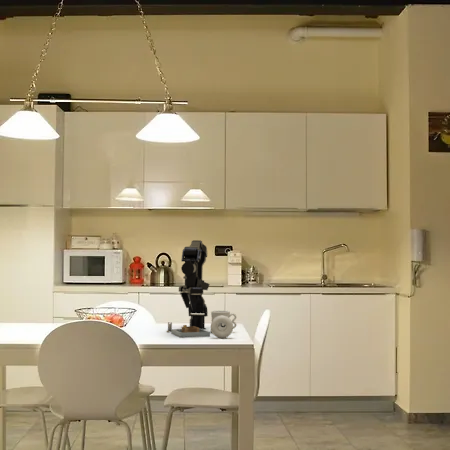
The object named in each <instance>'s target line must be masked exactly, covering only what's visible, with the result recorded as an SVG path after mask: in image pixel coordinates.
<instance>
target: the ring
mask: <svg viewBox="0 0 450 450" xmlns="http://www.w3.org/2000/svg"><path fill="white" fill-rule="evenodd" d="M181 329H182V332H181V333H186V332H199V328H198V327H195V326H190V325H189V326H188V325H187V324H183V325H182V326H181Z"/></svg>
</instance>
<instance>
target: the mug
mask: <svg viewBox="0 0 450 450" xmlns="http://www.w3.org/2000/svg"><path fill="white" fill-rule="evenodd" d="M210 313H211V314H210V315H211V322H212V321H213V319H214V318H215V317H217V316H221V315H223V316H226V317H228V318H229V319H230V318H231V316H233V318H232V319H231V321H232V323H233V330H234V329H235V328H236V327H237V323H236V319H237V315H236V314H235V313H233V312H231V311H228V310H211V311H210ZM218 328H219V330H221V331H223V330H225V328H226V326H225V324H224V323H220V324H219V325H218ZM210 333H212V331H211V330H210Z"/></svg>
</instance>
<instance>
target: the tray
mask: <svg viewBox="0 0 450 450" xmlns="http://www.w3.org/2000/svg"><path fill="white" fill-rule="evenodd" d="M181 332H182V328H172V329H171V332H170V334H172V335H173V336H176V337H178V338H199V337H200V338H203V337H204V338H205V337H211V331H208V330H206V329H199V332H186V333H181Z"/></svg>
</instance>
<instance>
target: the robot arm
mask: <svg viewBox="0 0 450 450" xmlns="http://www.w3.org/2000/svg"><path fill="white" fill-rule="evenodd" d="M181 253H182V254H181V262H183V264H182V265H181V267H180V268H181V272H182V273H183V274H184V276H183V277H182V278H183V279H184V285H180V286H178V292H179V294H180V297H181V298H182V301H183V303H184V305H185V306H184V307H186V309H188V317H190V318H189V327H190V326H195V327H198V328H199V329H203V330H206V329H207V328H206V327H205V325H206V324H205V318H206V317H208V316H209V315H208V314H209V313H208V306H207V304H206V301H205V298H204V297H203V294H204V291H208V290H209V287H210V283H208V282H205V280H203V267H204V265H205V263H206V262H207V258H208V247H207V245H205V244H204V243H203V240H198V239H197V240H191V243H190V245H188V246H185V247H183V249H182V252H181Z"/></svg>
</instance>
